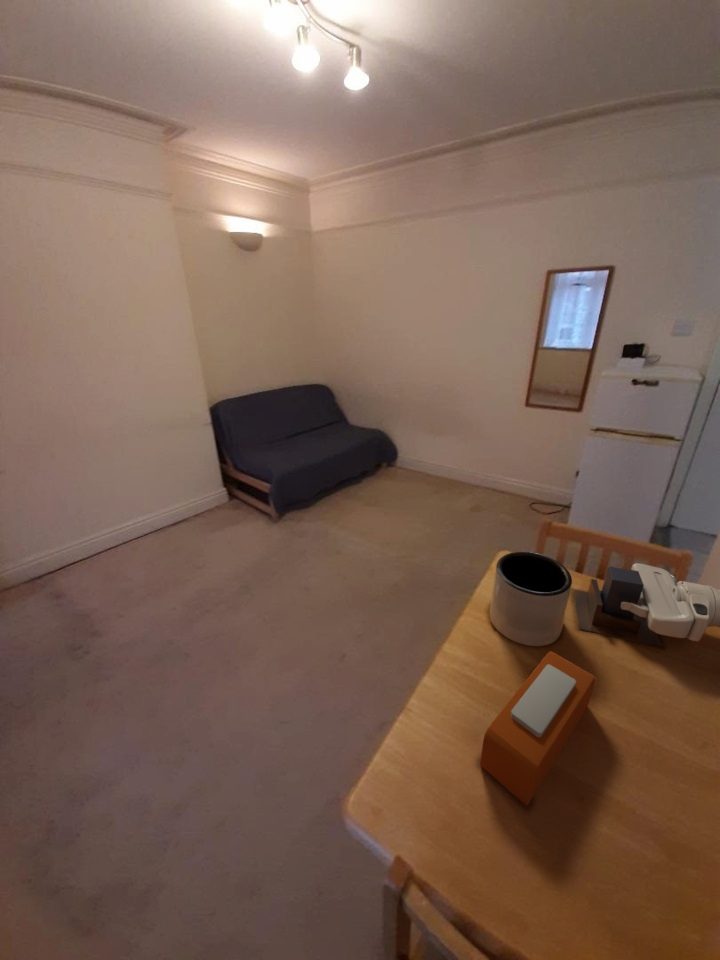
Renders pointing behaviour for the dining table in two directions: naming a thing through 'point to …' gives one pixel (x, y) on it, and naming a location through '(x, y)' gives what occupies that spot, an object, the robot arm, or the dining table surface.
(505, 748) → the alarm clock
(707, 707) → the dining table surface
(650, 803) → the dining table surface
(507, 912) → the dining table surface
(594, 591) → the brown holder on base
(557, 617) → the planter
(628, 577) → the dark grey block
